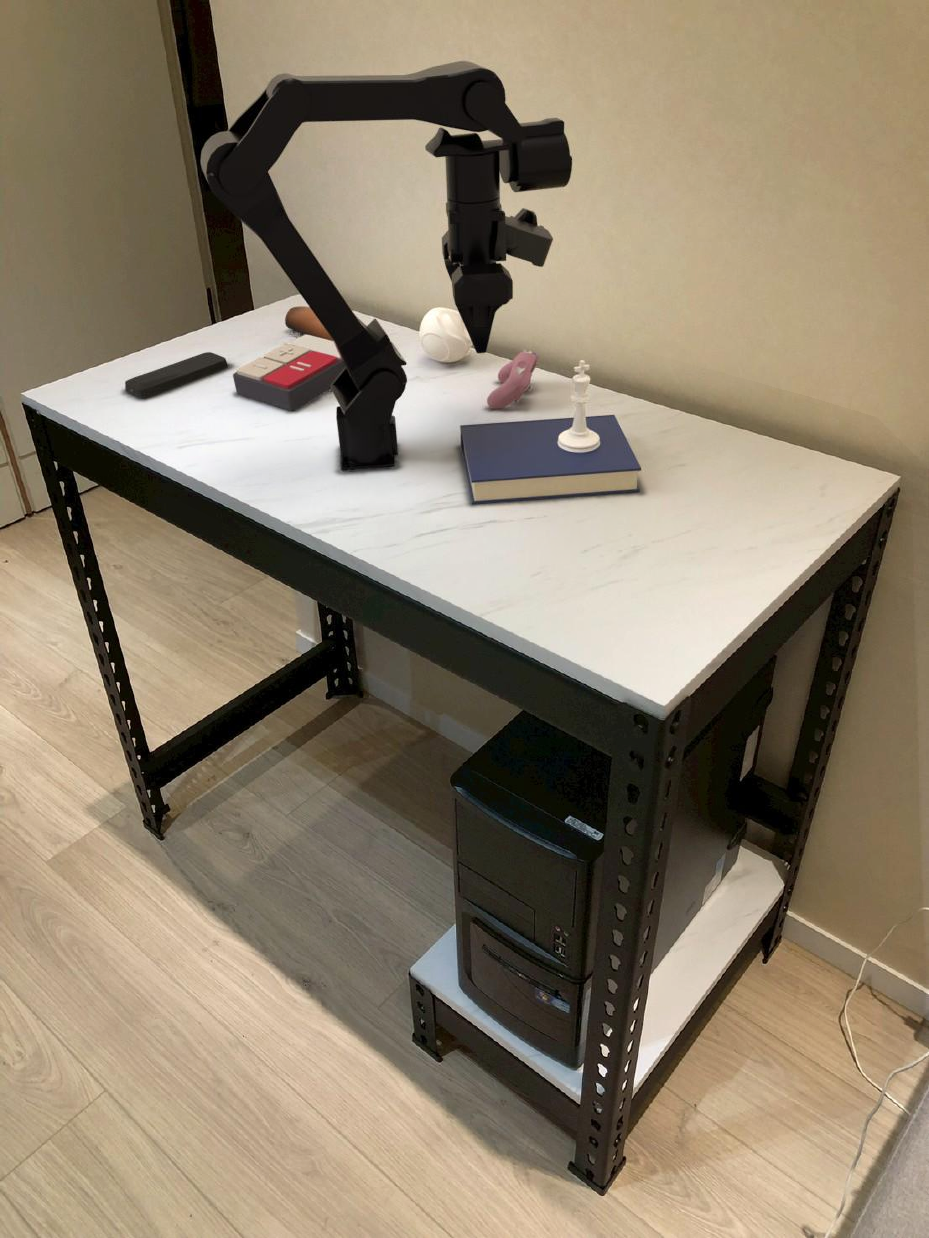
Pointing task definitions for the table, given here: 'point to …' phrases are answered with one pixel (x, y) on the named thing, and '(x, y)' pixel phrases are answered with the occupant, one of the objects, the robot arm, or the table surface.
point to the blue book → (545, 461)
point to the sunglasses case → (306, 322)
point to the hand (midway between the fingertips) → (477, 338)
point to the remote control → (175, 375)
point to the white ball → (444, 335)
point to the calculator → (291, 373)
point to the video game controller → (513, 380)
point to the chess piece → (579, 418)
